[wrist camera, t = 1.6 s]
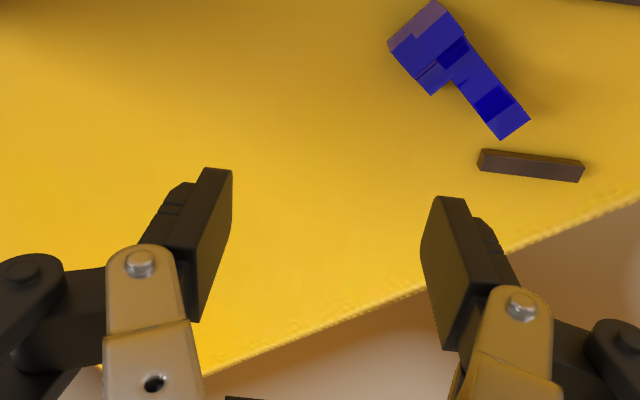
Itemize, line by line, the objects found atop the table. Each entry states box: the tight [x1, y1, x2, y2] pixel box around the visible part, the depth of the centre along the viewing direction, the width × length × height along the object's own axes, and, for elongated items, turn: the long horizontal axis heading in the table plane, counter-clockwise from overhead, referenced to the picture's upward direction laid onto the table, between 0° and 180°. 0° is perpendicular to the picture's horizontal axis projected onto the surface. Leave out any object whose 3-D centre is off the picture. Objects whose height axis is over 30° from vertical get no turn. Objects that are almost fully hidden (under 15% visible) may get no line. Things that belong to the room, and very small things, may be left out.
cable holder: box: [387, 0, 531, 141], centre depth 26 cm, size 8×4×4 cm, turn 44°
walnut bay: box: [477, 0, 640, 183], centre depth 28 cm, size 7×13×1 cm, turn 173°
